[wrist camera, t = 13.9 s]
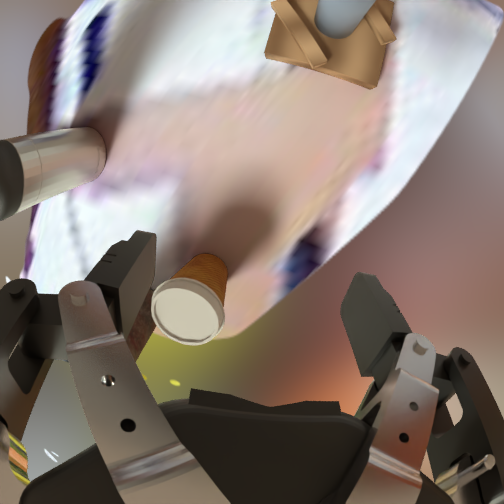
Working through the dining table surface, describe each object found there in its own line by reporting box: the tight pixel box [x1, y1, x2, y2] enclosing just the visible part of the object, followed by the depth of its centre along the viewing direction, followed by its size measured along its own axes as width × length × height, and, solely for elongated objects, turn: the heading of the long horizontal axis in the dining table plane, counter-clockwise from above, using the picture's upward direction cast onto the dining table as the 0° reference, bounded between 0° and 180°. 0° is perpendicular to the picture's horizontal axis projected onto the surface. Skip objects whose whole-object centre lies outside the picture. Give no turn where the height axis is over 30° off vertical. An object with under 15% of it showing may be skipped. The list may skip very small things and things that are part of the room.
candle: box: [126, 289, 157, 362], centre depth 39 cm, size 8×7×20 cm
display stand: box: [264, 0, 396, 89], centre depth 24 cm, size 15×15×6 cm
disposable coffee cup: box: [151, 254, 228, 345], centre depth 38 cm, size 10×10×12 cm
